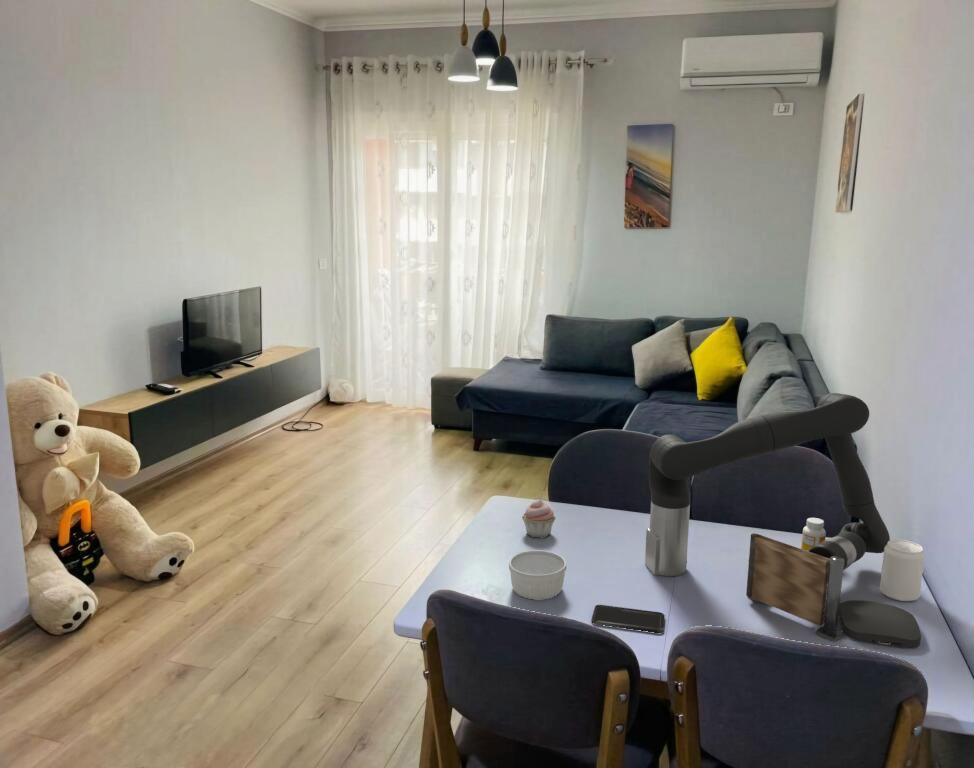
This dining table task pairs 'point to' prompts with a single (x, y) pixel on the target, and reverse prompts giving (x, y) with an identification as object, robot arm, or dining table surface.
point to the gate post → (832, 601)
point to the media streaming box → (879, 624)
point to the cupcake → (538, 519)
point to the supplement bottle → (813, 533)
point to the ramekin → (537, 574)
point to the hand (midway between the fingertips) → (793, 578)
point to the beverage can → (902, 570)
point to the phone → (628, 618)
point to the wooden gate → (788, 578)
